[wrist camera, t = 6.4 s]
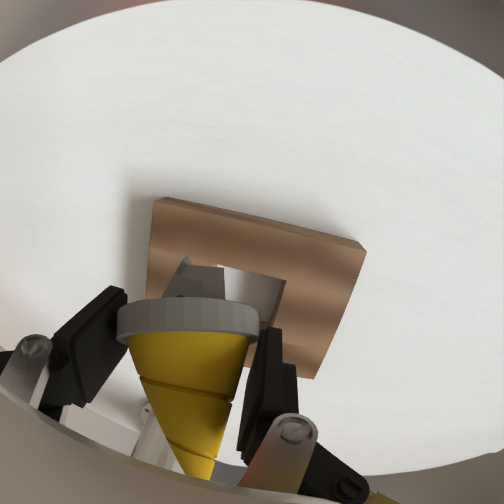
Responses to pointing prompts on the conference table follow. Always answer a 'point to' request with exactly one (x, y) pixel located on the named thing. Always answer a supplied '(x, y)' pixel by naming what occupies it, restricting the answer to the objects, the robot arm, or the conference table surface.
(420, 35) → the conference table surface
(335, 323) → the holder block
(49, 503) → the robot arm
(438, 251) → the conference table surface
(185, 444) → the drill bit
